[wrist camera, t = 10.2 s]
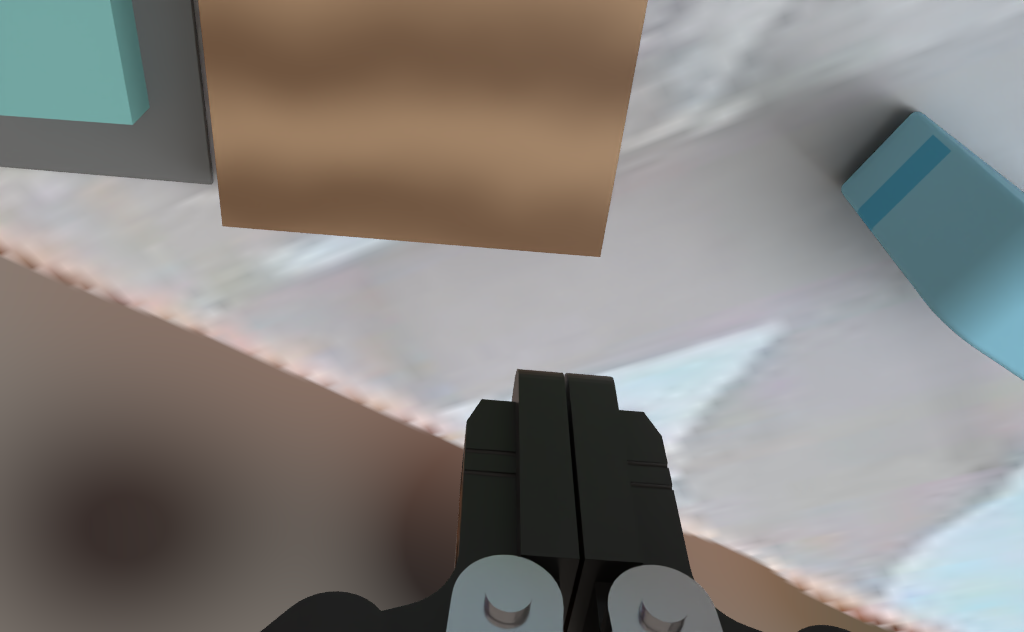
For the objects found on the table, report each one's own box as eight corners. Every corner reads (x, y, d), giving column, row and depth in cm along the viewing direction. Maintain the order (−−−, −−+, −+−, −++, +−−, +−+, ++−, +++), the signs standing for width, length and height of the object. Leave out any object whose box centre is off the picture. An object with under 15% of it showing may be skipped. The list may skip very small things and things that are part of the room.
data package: (828, 178, 38) (943, 328, 28) (904, 99, 36) (1056, 231, 26) (996, 297, 42) (1149, 466, 32) (1074, 232, 40) (1262, 391, 30)
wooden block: (210, -232, 29) (173, -229, 26) (659, -179, 30) (679, -170, 27) (246, 184, 38) (222, 226, 35) (591, 213, 39) (600, 256, 36)
